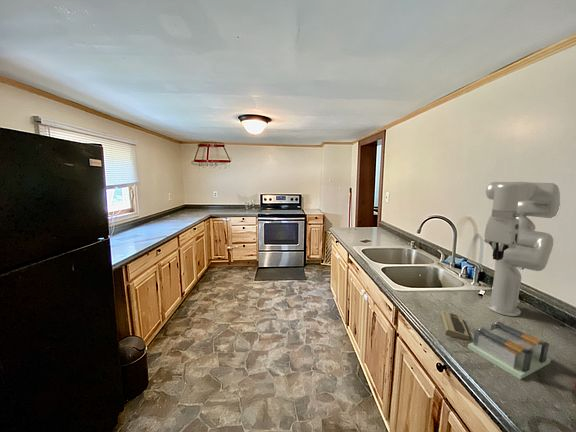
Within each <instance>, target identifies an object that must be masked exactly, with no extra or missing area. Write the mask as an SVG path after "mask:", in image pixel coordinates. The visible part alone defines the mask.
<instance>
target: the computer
mask: <svg viewBox="0 0 576 432" xmlns="http://www.w3.org/2000/svg"><path fill="white" fill-rule="evenodd" d="M439 314H440V317H441V324H442V327H443V330H444V335H445V336H447V337H453V338H455V339H456V338H457V339H462V340H467V341H469V340H470V339H471V338H470V334H469V333H468V330H467V328H466V325H465V323H464V320H463V318H462V315H460V314H457V313H453V312H450V311H446V310H441V311H440V313H439Z"/></svg>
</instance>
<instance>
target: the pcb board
mask: <svg viewBox="0 0 576 432" xmlns="http://www.w3.org/2000/svg"><path fill="white" fill-rule="evenodd" d="M467 349H469V350H470V351H472V352H473V353H475V354H477V355H479V356H481V358H484V359H485V360H487V361H488V362H491V363H492V364H493V365H495V366H497V367H498V368H501V370H503V371H505V372H506V373H509V374H510V375H512V376H514V377H515V378H517V379H519V380H522V379H523V378H526V377H527V376H529V375H531V374H533V373H535V372H537V371H538V370H540V369H542V368H544V367H545V366H547V365H550V364H551V361H552V358H550V357H548V356H547V358H546V361H545V362H543V363H541V362H539V359H540V355H539V356H537V357H535V358H533V359H531V364H530V369H529V370H528V371H526V372H524V371H522V368H523V364H522V365H520V366H518V367H516V368H514V369H513V368H511V367H509V366H508V365H506V364H504V363H502V362H501V361H499V360H497V359H495V358H494V357H492V356H490V355H489V354H487V353H485V352H483V351H482V350H480V349H478V348H477V346H475V345H473V342H470V343H468V344H467Z"/></svg>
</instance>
